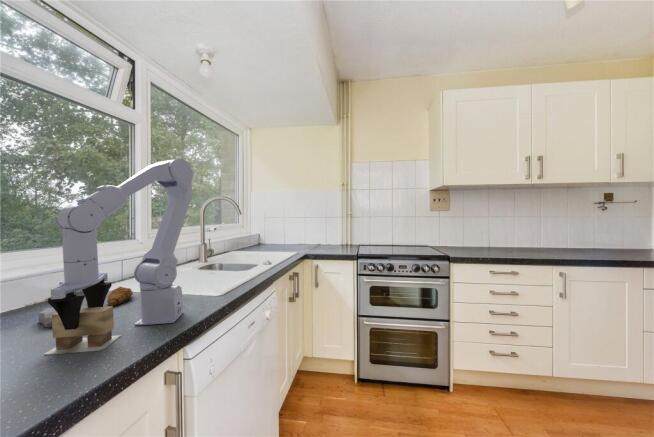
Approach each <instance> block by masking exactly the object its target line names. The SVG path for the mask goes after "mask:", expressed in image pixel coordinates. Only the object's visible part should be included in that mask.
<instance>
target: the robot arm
mask: <svg viewBox="0 0 654 437" xmlns="http://www.w3.org/2000/svg"><path fill="white" fill-rule="evenodd" d="M194 175H195V172H194V171H193V168H192V166H191V165H190V163H189V162H188V161H187V160H186V159H184V158H182V157H181V158H180V157H179V158H174V159H170V160H169V159H168V160H163V161H161V160H158V161H156V162H154V163H152V164H150V165H149V164H148V165H147V166H146V167H145V168H142V169H141V170H140V171H138V172H137V173H135V174H133V175H132V176H131V177H128V179H126V180H125V181H123V182H122V183H119V184H118V185H117V186H116V185H111V184H107V185H99V186H98V187H96V190H97V191H95V192H93V193H92V194H89V195H88V196H86V197H84V198H83V197H81V198H79V199H78V198H77V200H76V202H77V205H76V204H75V205H68V206H65V207H63V208H62V209H61V210H60V211H58V213H59V214H57V216H56V217H57V218H55V219H54V220H55V223H56V226H57V227H58V228H59V229H60V230H61V236H62V241H61V242H62V244H61V245H62V257H63V258H62V261H63V279H64V280H62V281H59V282H58V284H59V285H57V286H56V287H54V288H51V289H50V297H48V298H47V303H48V305H50V306H51V308H54V309H55V311H56V312H57V313H58V315H59V317H60V319H61V321H62V324H63V326H64V328H65V330H72V329H77V328H78V326H79V320H80V309H81V305H82V302H83V300H84V299H86V301H87V306H88V308H95V307H104V304H105V301H106V298H107V295H108V293H109V291H110V289H111V287H112V282H111V281H109V282H107V281H108V280H109V279H108V278H109V277H108V273H107V272H99V257H98V237H97V229H98V228H100V226H101V225H102V222H103V221H104V220H105V219H106V218H108V217H110V216H111V215H113V214H114V213H116V212H117V211H119V210H120V209H121V208H124V206H126V205H127V204H128V199H129V197H130V196H132V195H134V194H135V193H137V192H139V191H141V190H143V189H144V188H146V187H148V186H150V185H151V184H153V183H154V182H157V183H158V184H159V186H161V187H162V188H163V189H164V190H165V191H166V193H167V194H168V195H169V199H168V202H167V204H166V206H165V210H164V212H163V215H162V217H161V221H160V223H159V226H158V230H157V232H156V236H155V238H154V241H153V242H152V246H151V249H149V250H148V251H147V252H146V253H145V254H144V255H143V256H142V259H141V261H140V262H139V263H138V264H137V265H136V267H134V271H133V276H134V279H135V281H136V282H137V283H139V288H140V290H139V292H140V313H141V314H140V317H141V318H140V319H139V320H137V321H136V322H135V323H134V324H133V325H134V326H147V325H148V326H149V325H160V324H172V323H173V324H174V323H175V322H176V321H177V320H178V319H179V318H180V316H182V315H183V314H184V312H185V311H184V310H183V309H184V307H183V290H182V289H183V288H182V287H181V286H180V285H173V283H174V282H175V280H176V278H177V274H178V273H177V272H178V271H177V265H178V261H179V260H178V259H177V257H176V255H175V250H176V247H177V244H178V240H179V237H180V234H181V231H182V228H183V225H184V222H185V219H186V216H187V213H188V210H189V206H190V203H191V201H192V198H193V185H192V184H193V183H192V182H193V178H194ZM79 291H82V292H83V294H82V295H77V294H76V293H77V292H79Z"/></svg>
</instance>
